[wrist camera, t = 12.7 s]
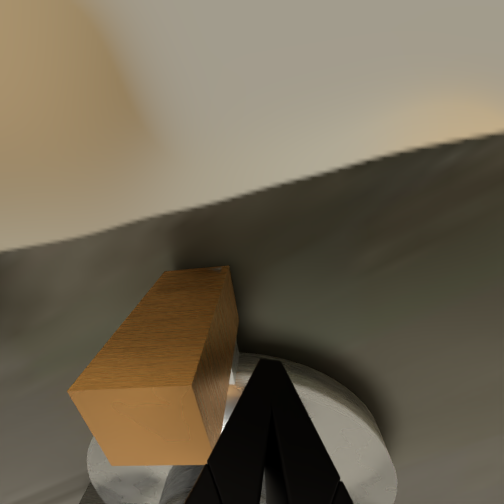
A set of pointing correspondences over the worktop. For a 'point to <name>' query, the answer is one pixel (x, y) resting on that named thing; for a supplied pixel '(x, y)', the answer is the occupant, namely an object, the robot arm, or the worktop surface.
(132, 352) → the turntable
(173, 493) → the cover
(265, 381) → the robot arm
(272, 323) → the worktop surface
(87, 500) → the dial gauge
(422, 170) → the worktop surface
